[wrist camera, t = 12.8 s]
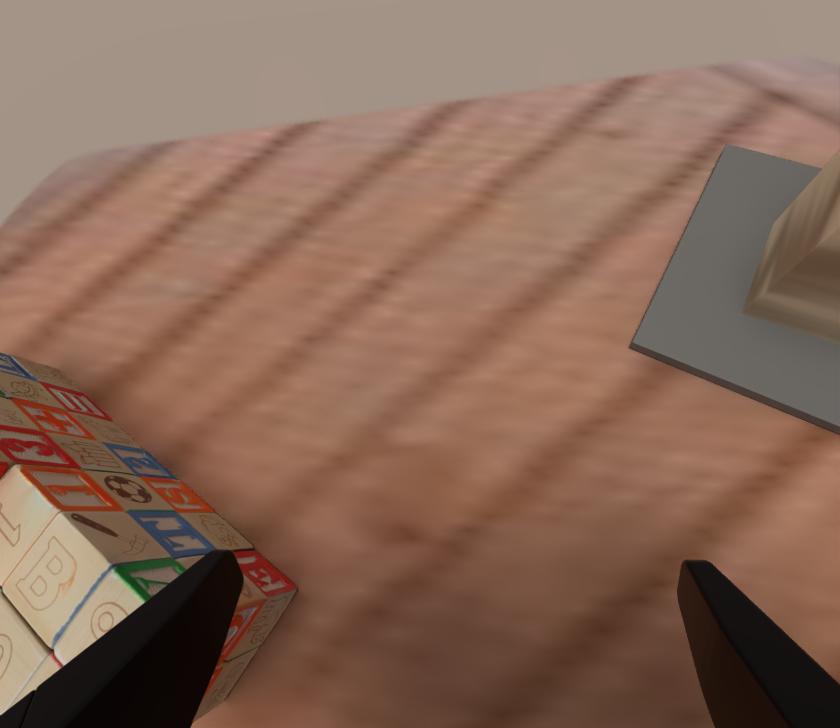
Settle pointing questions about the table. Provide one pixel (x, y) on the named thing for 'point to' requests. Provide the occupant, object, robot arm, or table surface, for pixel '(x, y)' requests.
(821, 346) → the charcoal board
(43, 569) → the stack of blocks
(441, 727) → the table surface
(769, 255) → the birch block
